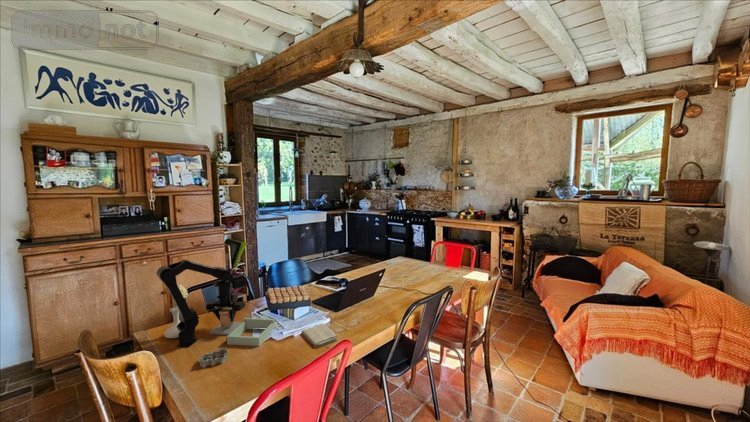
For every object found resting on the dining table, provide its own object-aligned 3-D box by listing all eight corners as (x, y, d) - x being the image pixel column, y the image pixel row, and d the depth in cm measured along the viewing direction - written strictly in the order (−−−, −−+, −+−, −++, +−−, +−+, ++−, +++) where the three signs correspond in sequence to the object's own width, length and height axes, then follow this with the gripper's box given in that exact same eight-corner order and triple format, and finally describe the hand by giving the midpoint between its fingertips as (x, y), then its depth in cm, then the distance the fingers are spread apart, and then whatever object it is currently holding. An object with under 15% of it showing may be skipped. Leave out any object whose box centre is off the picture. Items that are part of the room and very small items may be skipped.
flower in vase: (178, 341, 152) (173, 291, 149) (158, 339, 154) (153, 290, 151) (198, 328, 165) (194, 282, 162) (179, 327, 167) (175, 281, 164)
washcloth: (316, 349, 143) (316, 343, 142) (300, 334, 157) (300, 328, 157) (339, 341, 150) (338, 335, 149) (322, 327, 164) (321, 321, 164)
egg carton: (228, 354, 140) (228, 346, 140) (226, 364, 133) (225, 355, 133) (201, 359, 137) (201, 350, 136) (198, 369, 130) (197, 360, 129)
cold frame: (259, 346, 146) (258, 334, 145) (227, 344, 148) (226, 333, 148) (274, 329, 162) (274, 319, 161) (245, 328, 164) (245, 317, 163)
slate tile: (231, 335, 157) (231, 333, 157) (209, 334, 158) (209, 332, 158) (244, 324, 168) (244, 322, 168) (224, 323, 170) (223, 321, 170)
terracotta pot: (229, 328, 159) (228, 312, 158) (216, 327, 160) (215, 312, 159) (237, 321, 166) (236, 306, 165) (224, 321, 167) (223, 306, 166)
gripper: (249, 287, 168) (251, 315, 169) (217, 286, 170) (219, 314, 172) (238, 295, 157) (240, 325, 159) (203, 294, 159) (206, 323, 161)
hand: (226, 321), depth 163 cm, fingers closed on terracotta pot, 6 cm apart
